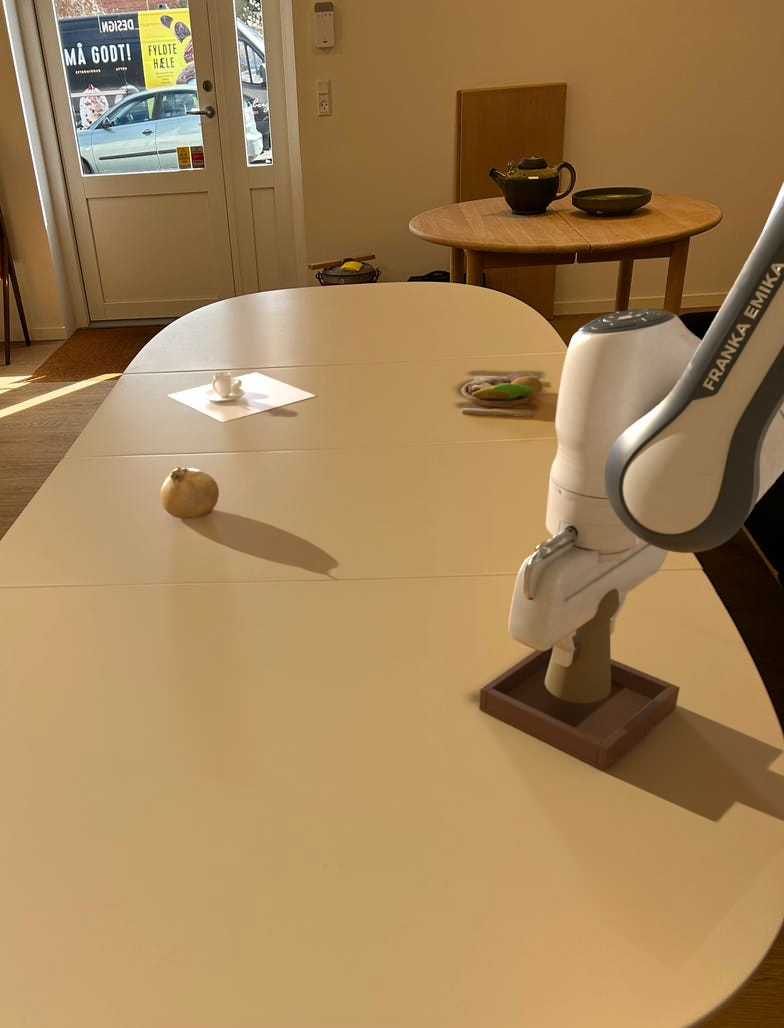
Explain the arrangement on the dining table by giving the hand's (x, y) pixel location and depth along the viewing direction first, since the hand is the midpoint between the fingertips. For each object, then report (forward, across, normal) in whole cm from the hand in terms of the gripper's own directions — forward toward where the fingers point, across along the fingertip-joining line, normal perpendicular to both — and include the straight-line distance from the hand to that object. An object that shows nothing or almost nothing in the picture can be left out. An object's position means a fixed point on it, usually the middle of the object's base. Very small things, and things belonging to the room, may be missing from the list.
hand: (583, 647), depth 88 cm
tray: (+7, 0, 0) cm, 7 cm away
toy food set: (+7, +70, +60) cm, 93 cm away
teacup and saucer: (+7, +42, +98) cm, 107 cm away
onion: (+7, +4, +64) cm, 65 cm away
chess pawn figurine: (+4, 0, 0) cm, 4 cm away
